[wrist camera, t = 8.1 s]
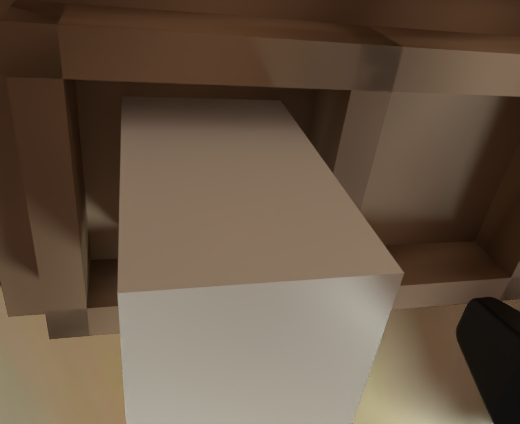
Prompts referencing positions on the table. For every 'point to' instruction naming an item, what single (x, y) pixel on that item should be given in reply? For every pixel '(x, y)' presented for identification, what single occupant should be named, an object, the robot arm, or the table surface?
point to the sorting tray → (298, 105)
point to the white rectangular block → (241, 269)
